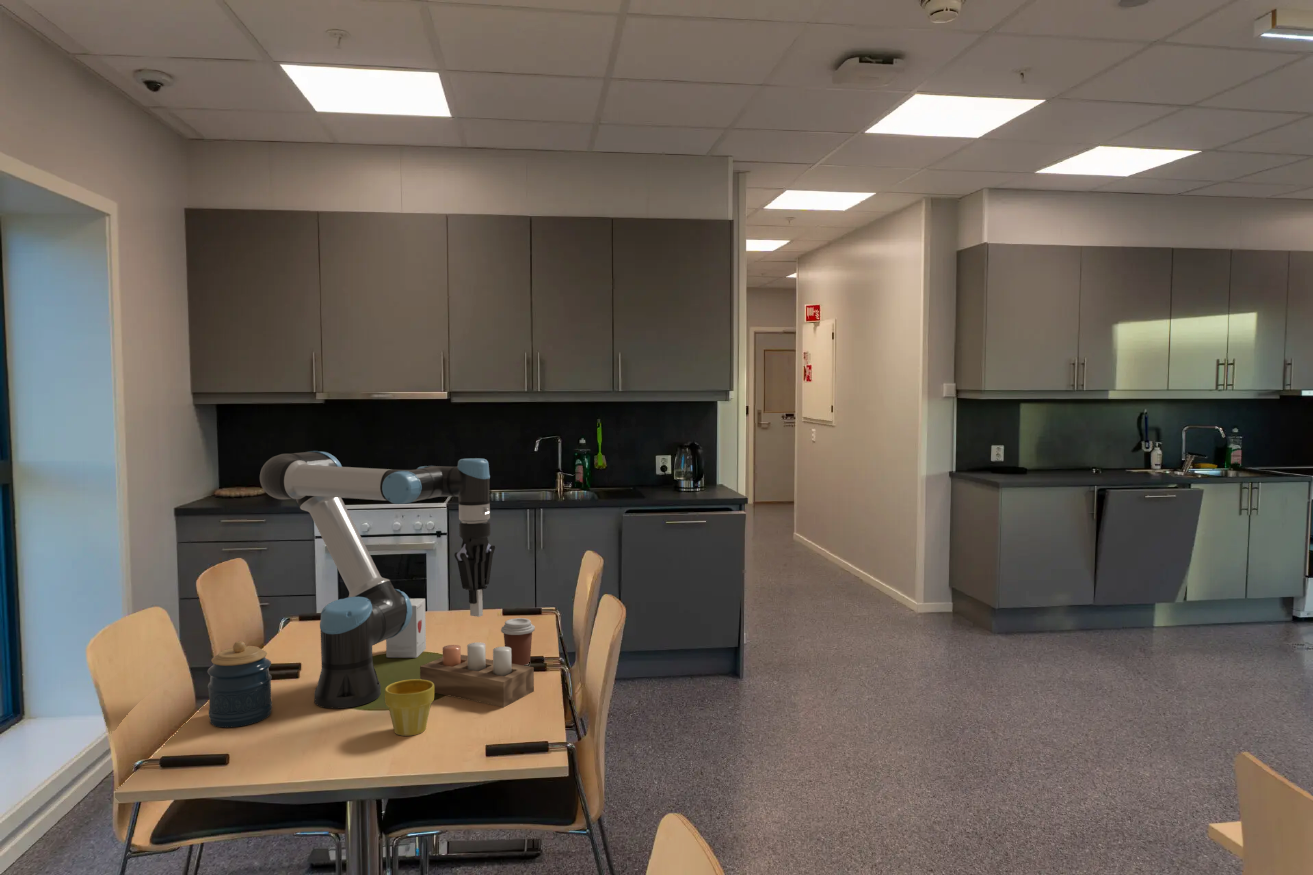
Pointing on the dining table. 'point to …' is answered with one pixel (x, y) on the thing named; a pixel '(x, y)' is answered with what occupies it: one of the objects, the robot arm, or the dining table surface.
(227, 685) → the canister
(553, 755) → the dining table surface
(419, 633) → the supplement box
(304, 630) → the dining table surface
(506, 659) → the grey plug far
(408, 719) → the plant pot
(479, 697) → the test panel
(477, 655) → the grey plug mid
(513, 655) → the coffee cup
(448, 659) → the terracotta plug
